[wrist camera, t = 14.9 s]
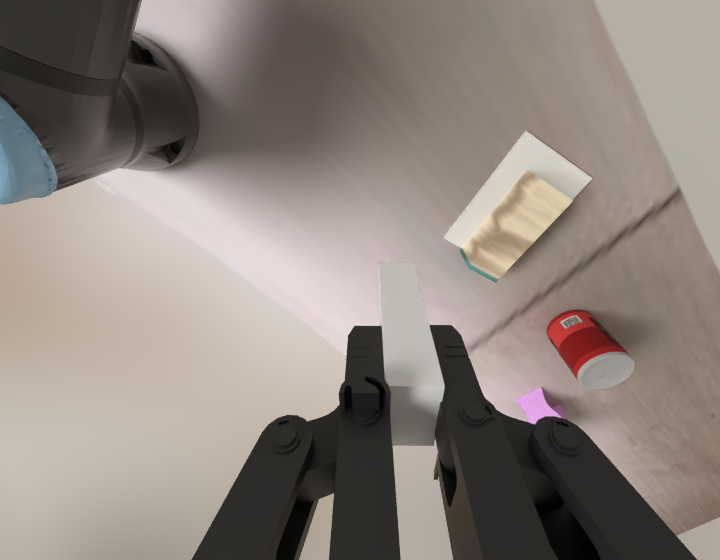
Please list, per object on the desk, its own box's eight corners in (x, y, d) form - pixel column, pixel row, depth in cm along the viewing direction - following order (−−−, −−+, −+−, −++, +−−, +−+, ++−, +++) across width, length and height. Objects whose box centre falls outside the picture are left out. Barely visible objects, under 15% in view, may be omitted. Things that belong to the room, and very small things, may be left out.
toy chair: (532, 419, 72) (567, 492, 59) (510, 402, 69) (543, 474, 56) (566, 403, 68) (611, 476, 56) (545, 384, 65) (588, 457, 53)
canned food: (537, 337, 58) (569, 385, 49) (562, 304, 54) (602, 350, 45) (573, 345, 59) (611, 394, 50) (601, 313, 55) (648, 360, 46)
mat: (503, 270, 51) (504, 272, 51) (443, 237, 48) (444, 238, 48) (590, 177, 43) (592, 178, 42) (525, 130, 40) (526, 131, 40)
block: (495, 282, 46) (573, 200, 39) (468, 267, 45) (544, 180, 38) (484, 265, 50) (553, 189, 43) (459, 251, 49) (526, 170, 42)
